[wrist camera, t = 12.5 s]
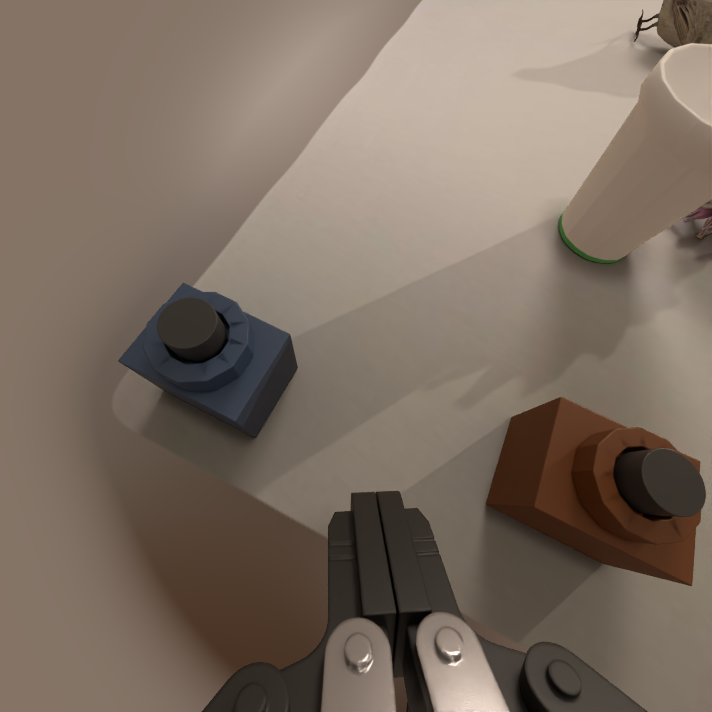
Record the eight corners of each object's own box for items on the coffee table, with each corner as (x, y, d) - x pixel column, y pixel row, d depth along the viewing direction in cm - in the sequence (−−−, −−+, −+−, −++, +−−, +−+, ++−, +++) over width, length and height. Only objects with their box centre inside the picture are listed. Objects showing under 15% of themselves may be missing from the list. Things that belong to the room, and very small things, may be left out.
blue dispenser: (297, 367, 31) (287, 320, 22) (255, 438, 28) (226, 415, 20) (212, 325, 32) (171, 265, 23) (163, 390, 29) (98, 348, 21)
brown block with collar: (485, 504, 28) (553, 508, 19) (511, 416, 31) (580, 388, 22) (604, 564, 27) (729, 596, 18) (619, 468, 30) (733, 458, 21)
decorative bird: (723, 75, 55) (779, 15, 48) (625, 44, 56) (667, -19, 49) (722, 58, 57) (776, -2, 50) (628, 28, 58) (668, -35, 51)
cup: (665, 244, 40) (851, 109, 26) (605, 298, 36) (783, 175, 22) (582, 179, 43) (708, 26, 29) (519, 222, 40) (627, 72, 25)
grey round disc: (609, 497, 20) (638, 497, 18) (618, 441, 22) (646, 436, 20) (668, 526, 20) (704, 529, 18) (673, 468, 21) (707, 465, 19)
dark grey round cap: (236, 327, 22) (228, 311, 21) (206, 370, 21) (194, 358, 19) (192, 305, 23) (180, 288, 21) (159, 347, 21) (143, 332, 20)
